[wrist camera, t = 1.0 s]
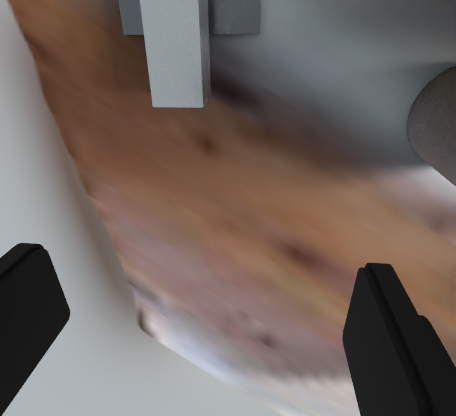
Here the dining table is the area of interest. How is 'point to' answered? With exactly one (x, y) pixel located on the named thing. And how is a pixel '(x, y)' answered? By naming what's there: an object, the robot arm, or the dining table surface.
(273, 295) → the dining table surface
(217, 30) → the collar rail
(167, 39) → the white post with dot
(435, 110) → the pillar candle
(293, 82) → the dining table surface
